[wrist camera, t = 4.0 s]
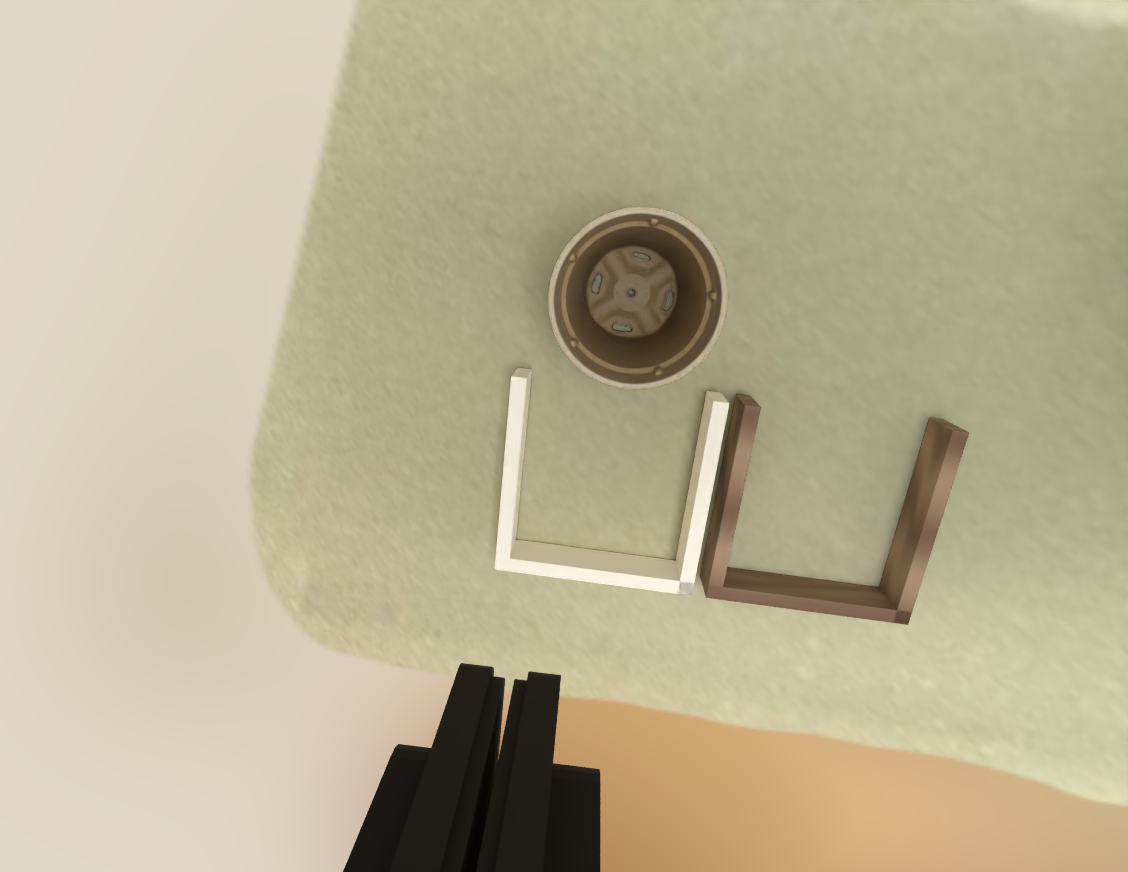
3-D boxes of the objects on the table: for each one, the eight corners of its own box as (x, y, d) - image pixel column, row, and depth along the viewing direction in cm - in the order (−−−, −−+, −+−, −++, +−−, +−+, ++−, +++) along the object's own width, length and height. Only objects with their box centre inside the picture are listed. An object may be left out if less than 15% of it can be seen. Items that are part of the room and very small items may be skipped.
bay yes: (517, 367, 43) (511, 376, 40) (721, 392, 42) (729, 403, 39) (501, 549, 47) (494, 569, 44) (686, 574, 46) (691, 595, 44)
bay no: (736, 394, 42) (745, 405, 39) (944, 420, 42) (969, 432, 39) (700, 576, 46) (706, 597, 44) (889, 601, 46) (908, 624, 43)
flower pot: (547, 230, 40) (531, 226, 32) (694, 201, 39) (717, 189, 31) (573, 372, 43) (564, 402, 34) (711, 349, 42) (737, 374, 33)
